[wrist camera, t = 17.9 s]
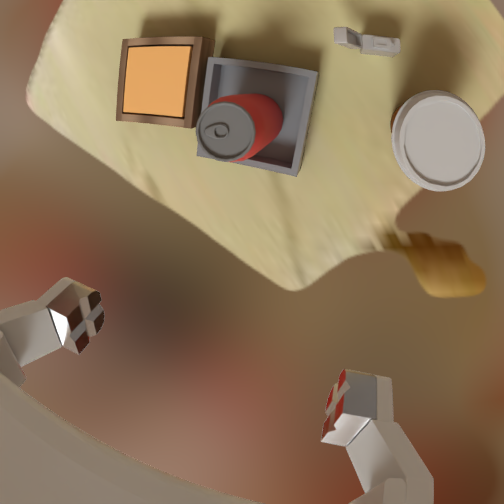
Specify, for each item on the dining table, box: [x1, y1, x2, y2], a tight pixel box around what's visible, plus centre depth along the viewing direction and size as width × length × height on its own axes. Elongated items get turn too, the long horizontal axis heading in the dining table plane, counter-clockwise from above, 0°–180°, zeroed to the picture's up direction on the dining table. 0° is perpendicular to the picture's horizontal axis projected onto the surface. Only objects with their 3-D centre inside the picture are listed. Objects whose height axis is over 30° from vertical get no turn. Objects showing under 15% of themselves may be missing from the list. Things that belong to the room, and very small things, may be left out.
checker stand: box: [116, 37, 215, 128], centre depth 35 cm, size 12×12×4 cm
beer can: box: [196, 93, 283, 162], centre depth 31 cm, size 7×7×12 cm
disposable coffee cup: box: [391, 90, 485, 191], centre depth 27 cm, size 10×10×12 cm
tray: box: [197, 57, 319, 177], centre depth 35 cm, size 13×13×4 cm
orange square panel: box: [123, 46, 193, 117], centre depth 34 cm, size 9×9×1 cm
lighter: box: [334, 27, 400, 57], centre depth 26 cm, size 7×2×8 cm, turn 93°
